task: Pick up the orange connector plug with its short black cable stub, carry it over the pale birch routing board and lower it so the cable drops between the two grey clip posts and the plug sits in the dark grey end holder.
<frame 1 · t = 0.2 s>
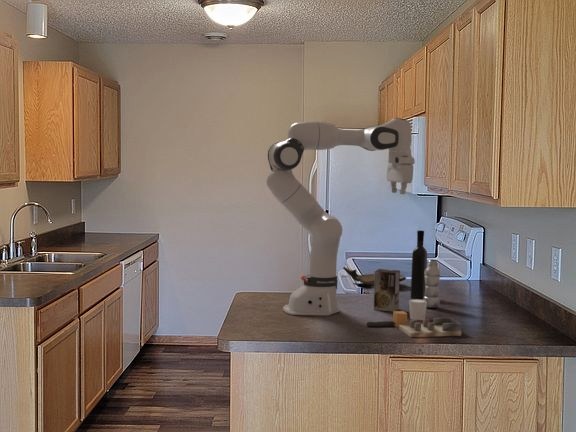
hand: (398, 193, 273), 47 cm above the worktop, tool pointing down, fingers open, 8 cm apart
oil lamp: (375, 285, 327), on the worktop
plug: (399, 325, 250), on the worktop
wine bottle: (418, 298, 300), on the worktop
shot glass: (417, 319, 262), on the worktop
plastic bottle: (431, 308, 281), on the worktop
board: (429, 332, 242), on the worktop
coffee box: (386, 309, 276), on the worktop
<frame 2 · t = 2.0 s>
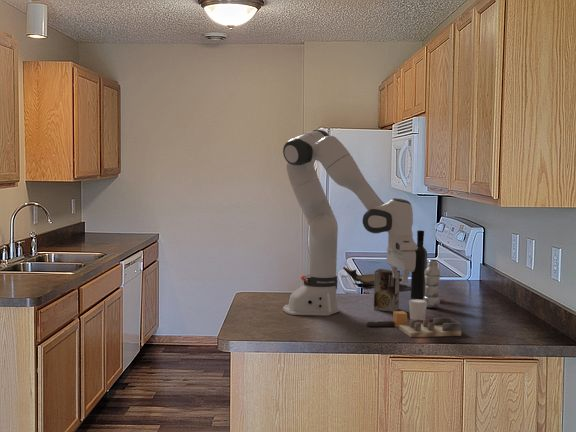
hand: (400, 280, 249), 17 cm above the worktop, tool pointing down, fingers open, 8 cm apart
nothing on the worktop moved.
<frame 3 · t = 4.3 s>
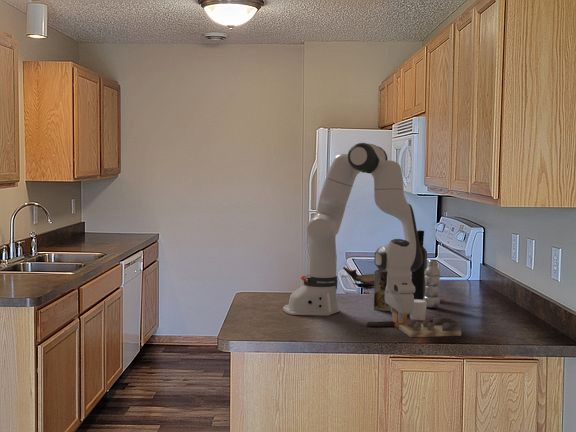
hand: (397, 320, 249), 2 cm above the worktop, tool pointing down, fingers closed on plug, 4 cm apart
plug: (399, 325, 250), on the worktop, touching gripper
everything else where it was.
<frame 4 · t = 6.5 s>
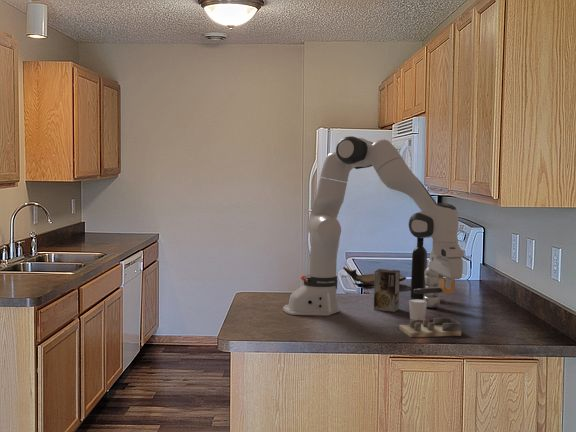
hand: (444, 287, 242), 16 cm above the worktop, tool pointing down, fingers closed on plug, 4 cm apart
plug: (446, 292, 242), point 14 cm above the worktop, touching gripper
everything else where it was.
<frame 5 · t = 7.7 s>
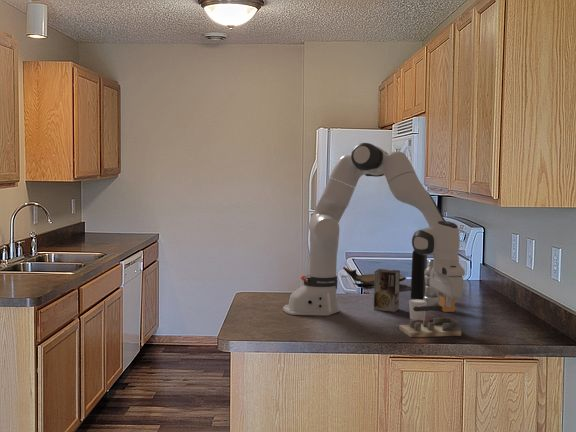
hand: (444, 305, 242), 10 cm above the worktop, tool pointing down, fingers closed on plug, 4 cm apart
plug: (447, 310, 242), point 8 cm above the worktop, touching gripper
everything else where it was.
when the fingers open (5 cm above the worktop, at t = 8.8 s): plug drops 2 cm, resting on board.
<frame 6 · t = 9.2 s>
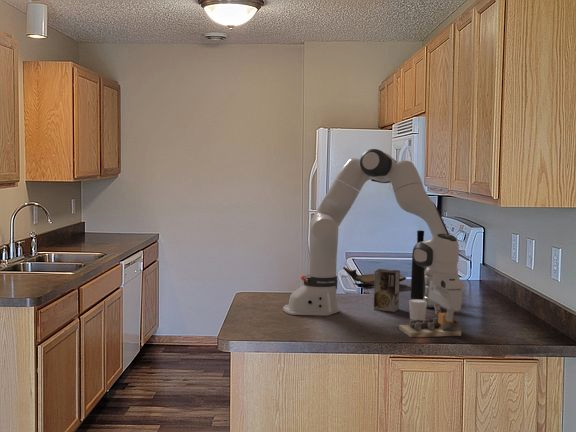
hand: (443, 317, 242), 5 cm above the worktop, tool pointing down, fingers open, 8 cm apart
plug: (445, 327, 243), point 1 cm above the worktop, touching board
everything else where it was.
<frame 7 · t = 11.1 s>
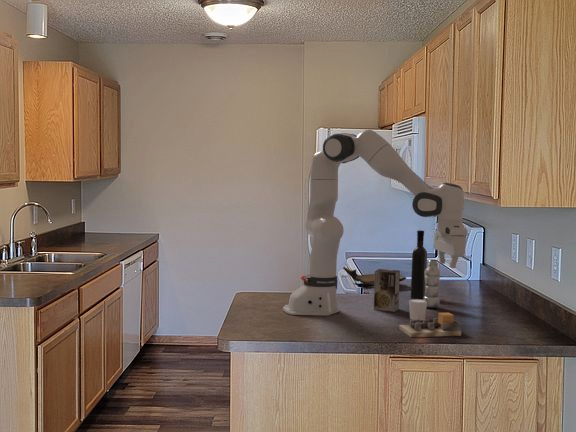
hand: (447, 265, 246), 23 cm above the worktop, tool pointing down, fingers open, 8 cm apart
nothing on the worktop moved.
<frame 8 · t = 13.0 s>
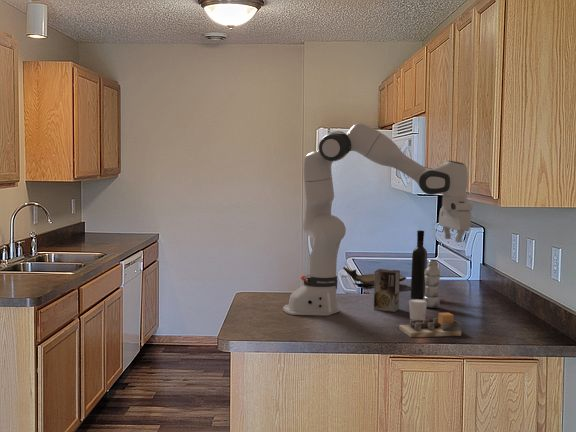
hand: (453, 240, 256), 31 cm above the worktop, tool pointing down, fingers open, 8 cm apart
nothing on the worktop moved.
at the end: plug 0.1 cm from the target spot on the board, point 1.5 cm above the board's base; plug tilted 0°; the gripper is holding nothing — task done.
